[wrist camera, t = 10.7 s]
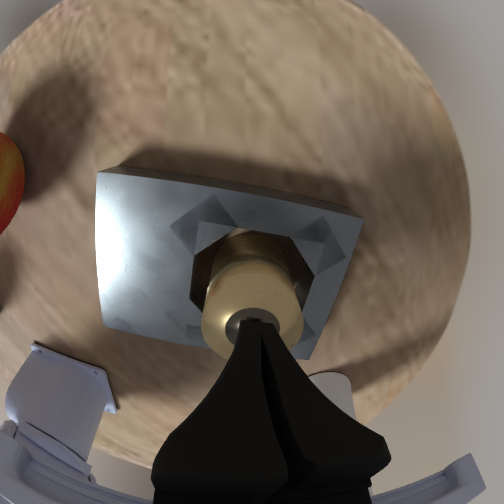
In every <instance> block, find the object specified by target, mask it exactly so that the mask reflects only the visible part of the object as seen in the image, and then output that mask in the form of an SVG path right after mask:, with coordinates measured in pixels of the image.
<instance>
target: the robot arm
mask: <svg viewBox="0 0 504 504" xmlns="http://www.w3.org/2000/svg"><path fill="white" fill-rule="evenodd" d="M31 349H32V352H31V354H30V355H29V357H28V358H27V360H26V361H25V362H24V364H23V365H22V367H21V368H20V370H19V371H18V373H17V374H16V376H15V378H14V379H13V381H12V382H11V384H10V386H9V388H8V390H7V393H6V399H5V408H6V412H7V415H8V417H9V419H10V421H9V420H5V421H4V422H3V423H2V425H1V427H0V504H467V503H468V502H470V501H471V500H472V499H474V498H475V497H476V496H478V495H479V494H480V493H482V492H483V491H484V490H485V489H486V486H485V484H484V481H483V479H482V476H481V474H480V472H479V470H478V467H477V465H476V463H475V461H474V459H473V456H472V454H471V453H469V454H467V455H465V456H463V457H461V458H459V459H457V460H456V461H454V462H453V463H451V464H450V465H448V466H447V467H446V468H445V469H444V470H442V471H440V472H437V473H435V474H433V475H431V476H428V477H426V478H424V479H421V480H419V481H416V482H414V483H411V484H408V485H406V486H403V487H400V488H397V489H394V490H391V491H388V492H385V493H381V494H378V495H375V496H370V493H369V490H368V488H369V487H371V485H372V483H371V480H370V478H371V477H372V476H374V475H375V474H376V473H378V472H379V471H380V470H382V469H384V468H385V467H386V466H387V465H388V463H389V462H390V461H391V455H390V452H389V449H388V446H387V444H386V441H385V439H384V437H383V436H381V435H379V434H377V433H376V432H374V431H372V430H370V429H368V428H367V427H365V426H363V425H362V424H360V423H359V422H357V421H356V420H354V419H353V418H352V417H350V416H349V415H347V414H346V413H345V412H344V411H342V410H341V409H340V408H339V407H337V406H336V405H335V404H334V403H333V402H332V401H331V400H329V399H328V398H327V397H326V396H325V395H324V394H323V393H322V392H321V391H320V390H319V389H318V388H317V387H316V386H315V384H314V383H313V382H312V381H311V380H310V379H309V378H308V376H307V375H306V374H305V372H304V371H303V370H302V369H301V367H300V366H299V365H298V363H297V362H296V360H295V359H294V357H293V356H292V354H291V353H290V351H289V350H288V348H287V347H286V345H285V343H284V342H283V340H282V338H281V337H280V335H279V333H278V331H277V330H276V328H275V326H274V325H273V323H266V322H258V321H251V320H244V319H243V320H241V321H240V324H239V328H238V332H237V337H236V341H235V345H234V349H233V352H232V354H231V356H230V358H229V360H228V362H227V364H226V366H225V368H224V370H223V371H222V373H221V375H220V376H219V378H218V380H217V381H216V383H215V384H214V386H213V387H212V388H211V390H210V391H209V393H208V394H207V395H206V397H205V398H204V399H203V400H202V402H201V403H200V404H199V405H198V406H197V407H196V409H195V410H194V411H193V412H192V413H191V414H190V415H189V416H188V417H187V418H186V419H185V420H184V421H183V422H182V423H181V424H180V425H179V426H178V427H177V428H176V429H175V430H174V431H173V432H172V433H170V434H169V436H168V438H167V439H166V441H165V442H164V444H163V445H162V447H161V448H160V450H159V452H158V454H157V455H156V457H155V460H154V463H153V467H152V474H151V481H152V483H153V485H154V488H155V492H154V499H153V501H152V500H147V499H143V498H139V497H135V496H132V495H128V494H125V493H121V492H118V491H115V490H112V489H109V488H106V487H103V486H100V485H98V484H97V483H96V480H95V477H94V476H93V474H92V473H90V471H91V467H92V466H91V465H89V464H87V463H86V462H87V458H88V455H89V452H90V449H91V446H92V443H93V440H94V437H95V434H96V431H97V429H98V426H99V423H100V420H101V417H102V415H103V412H104V411H107V412H110V413H113V414H116V413H117V409H116V405H115V402H114V399H113V396H112V392H111V389H110V385H109V381H108V378H107V374H106V372H105V371H104V370H103V369H101V368H98V367H95V366H92V365H89V364H86V363H83V362H80V361H77V360H74V359H72V358H69V357H66V356H64V355H61V354H59V353H56V352H54V351H51V350H49V349H46V348H44V347H42V346H39V345H37V344H35V343H32V344H31Z"/></svg>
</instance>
